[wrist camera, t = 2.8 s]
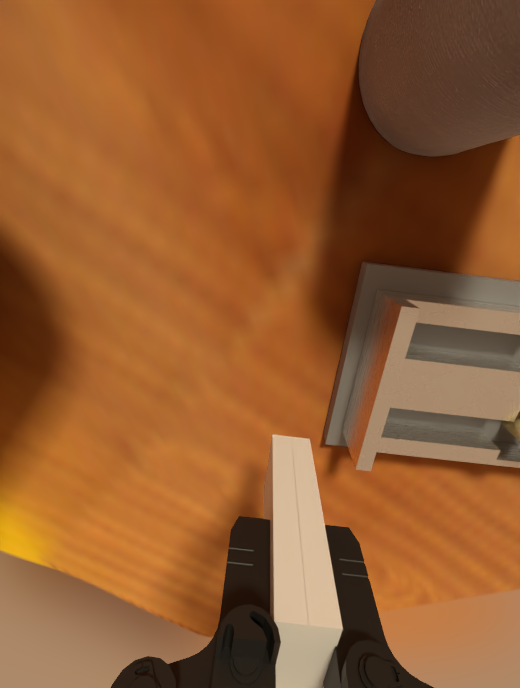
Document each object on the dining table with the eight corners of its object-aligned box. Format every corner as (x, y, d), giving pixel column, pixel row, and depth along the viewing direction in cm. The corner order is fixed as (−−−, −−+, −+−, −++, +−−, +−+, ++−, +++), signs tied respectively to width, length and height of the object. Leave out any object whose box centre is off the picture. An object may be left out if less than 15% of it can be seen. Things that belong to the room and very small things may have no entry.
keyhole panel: (342, 430, 26) (355, 469, 22) (377, 289, 22) (401, 306, 18) (557, 454, 26) (608, 496, 22) (630, 320, 22) (709, 343, 18)
